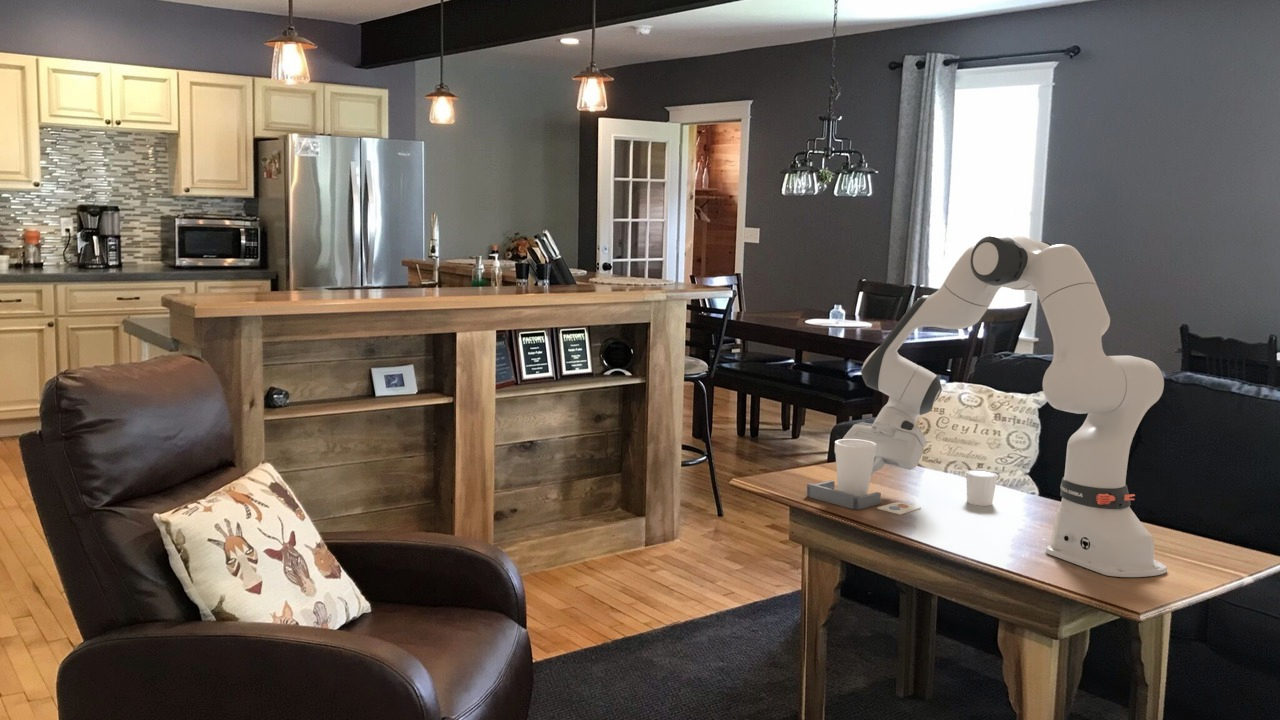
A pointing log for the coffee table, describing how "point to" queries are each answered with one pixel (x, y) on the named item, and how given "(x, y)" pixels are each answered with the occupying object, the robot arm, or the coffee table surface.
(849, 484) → the foam cup
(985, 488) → the shot glass
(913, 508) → the card
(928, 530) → the coffee table surface
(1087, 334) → the robot arm
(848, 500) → the grey cup holder
